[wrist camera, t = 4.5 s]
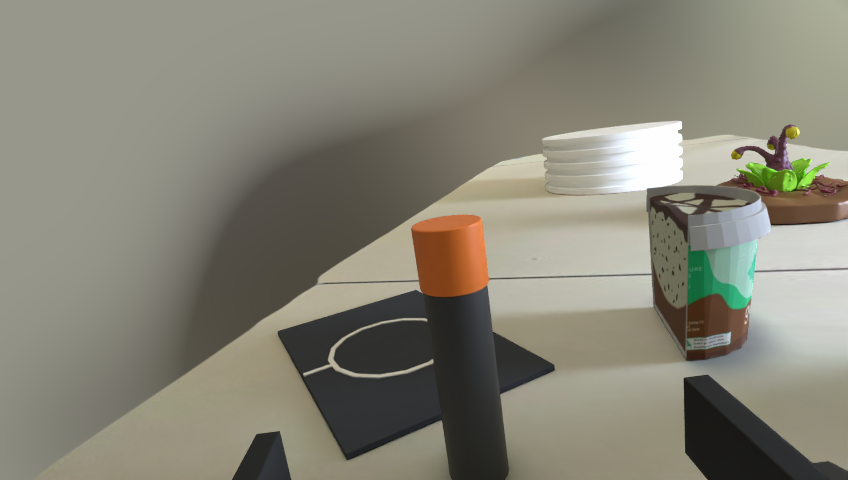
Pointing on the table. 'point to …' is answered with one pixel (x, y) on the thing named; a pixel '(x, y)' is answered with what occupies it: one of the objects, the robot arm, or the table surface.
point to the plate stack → (613, 159)
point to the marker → (462, 343)
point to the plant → (791, 185)
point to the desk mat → (384, 370)
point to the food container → (704, 263)
